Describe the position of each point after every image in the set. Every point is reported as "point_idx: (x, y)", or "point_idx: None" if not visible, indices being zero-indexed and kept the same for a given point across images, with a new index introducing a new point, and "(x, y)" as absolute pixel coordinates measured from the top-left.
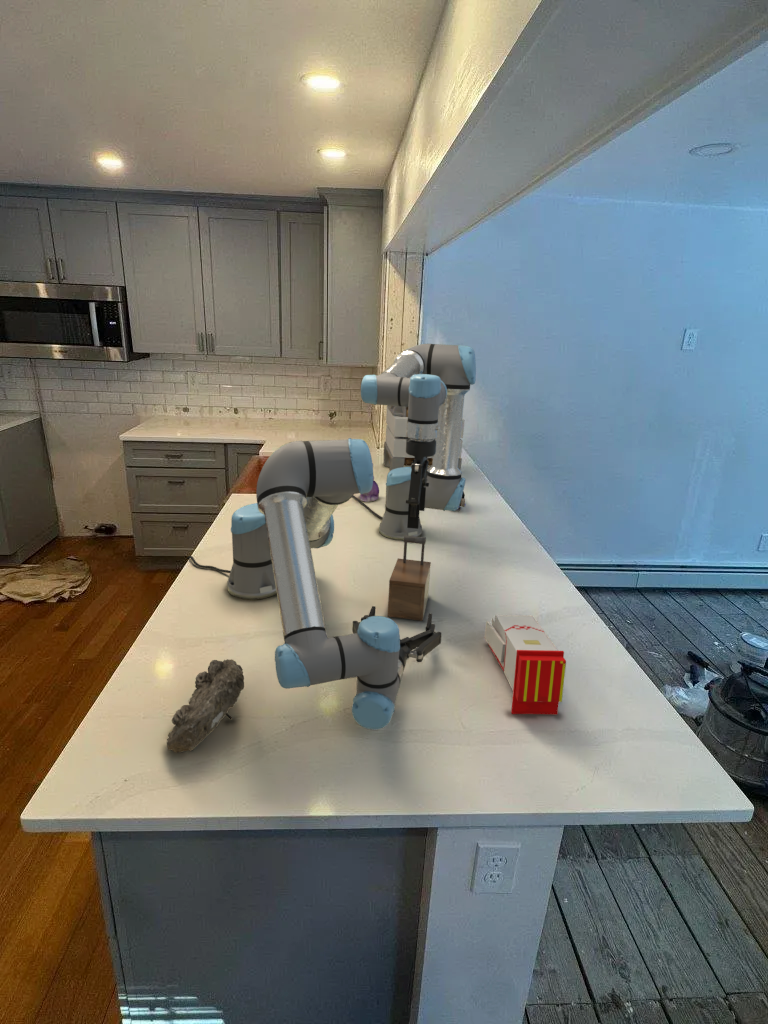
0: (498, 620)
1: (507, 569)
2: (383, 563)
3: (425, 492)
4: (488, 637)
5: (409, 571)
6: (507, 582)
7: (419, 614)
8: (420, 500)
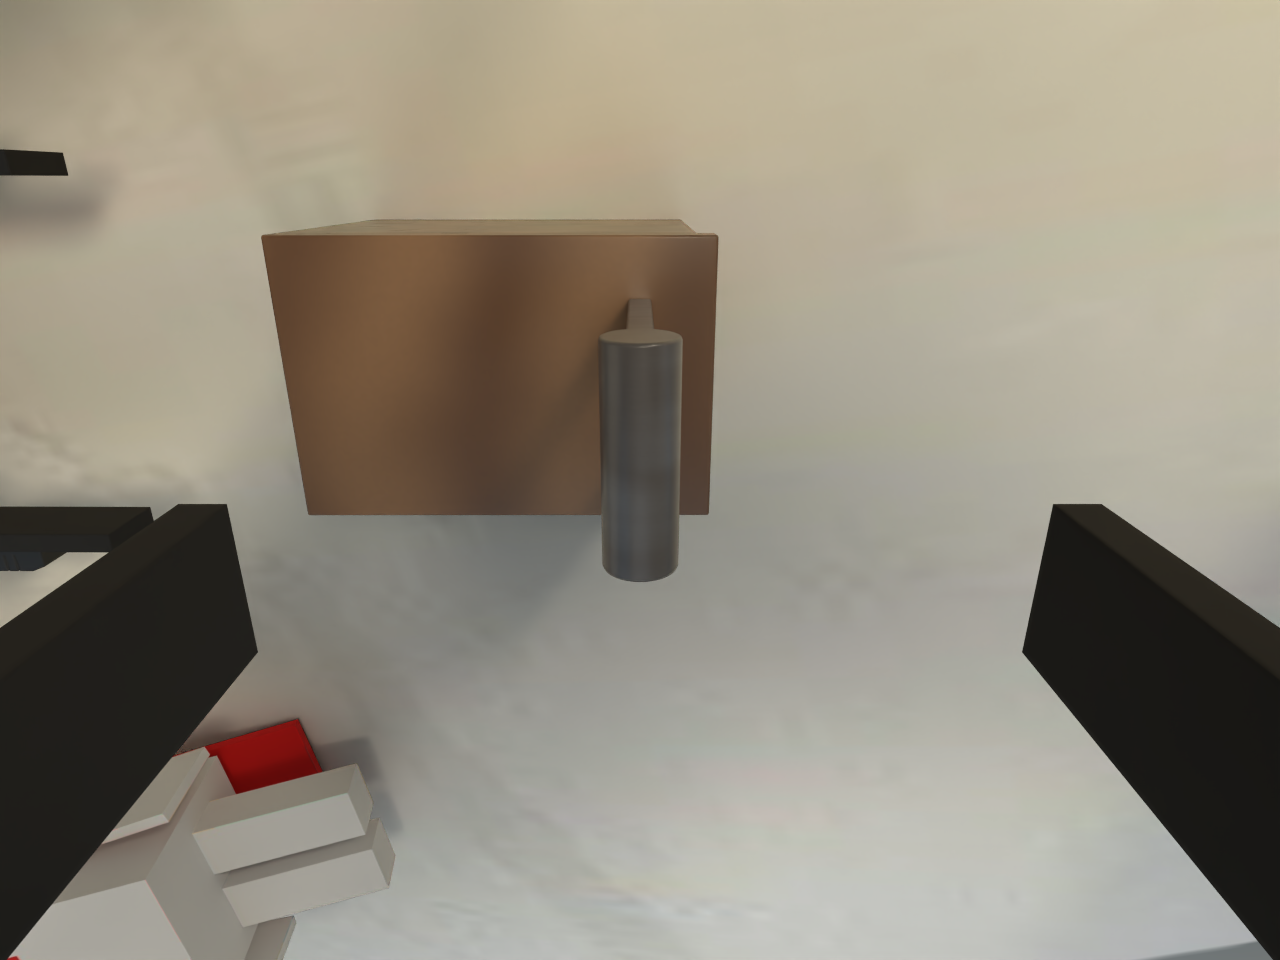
0: (71, 898)
1: (1098, 797)
2: (1152, 37)
3: (1271, 939)
4: None
5: (479, 375)
6: (937, 794)
7: None
8: (1143, 704)
